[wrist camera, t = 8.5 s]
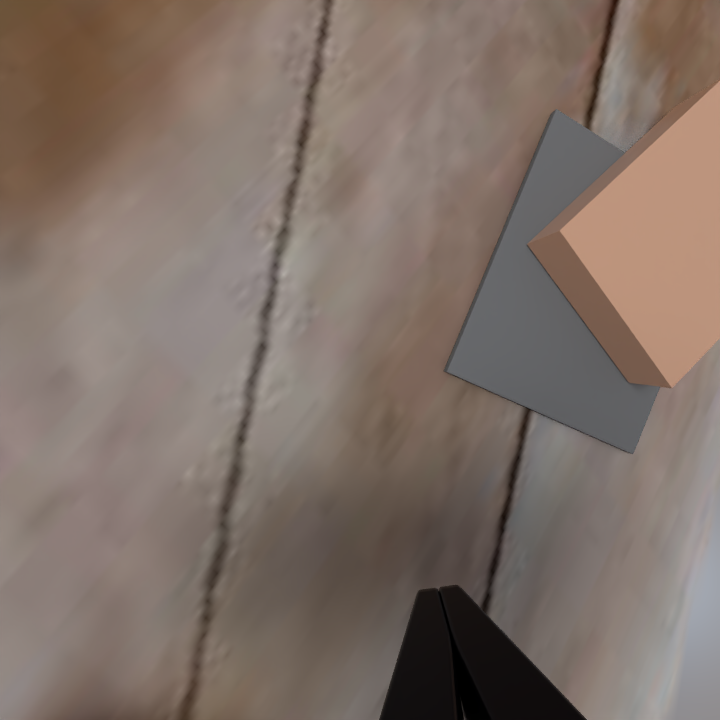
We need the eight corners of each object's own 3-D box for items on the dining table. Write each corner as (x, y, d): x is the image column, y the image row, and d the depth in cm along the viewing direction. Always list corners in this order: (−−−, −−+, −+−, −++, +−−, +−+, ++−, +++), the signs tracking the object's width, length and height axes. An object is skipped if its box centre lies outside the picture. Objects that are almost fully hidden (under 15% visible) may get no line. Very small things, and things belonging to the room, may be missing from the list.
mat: (626, 452, 22) (633, 454, 21) (443, 370, 19) (446, 371, 19) (719, 220, 22) (727, 218, 21) (551, 113, 20) (556, 109, 19)
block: (671, 388, 18) (817, 236, 20) (559, 230, 17) (725, 75, 18) (627, 382, 21) (758, 248, 22) (525, 244, 19) (673, 107, 20)
